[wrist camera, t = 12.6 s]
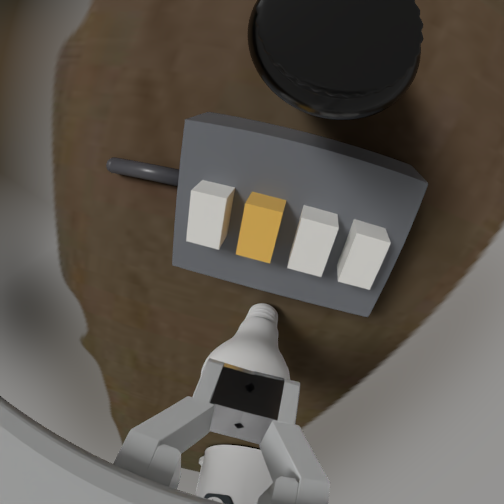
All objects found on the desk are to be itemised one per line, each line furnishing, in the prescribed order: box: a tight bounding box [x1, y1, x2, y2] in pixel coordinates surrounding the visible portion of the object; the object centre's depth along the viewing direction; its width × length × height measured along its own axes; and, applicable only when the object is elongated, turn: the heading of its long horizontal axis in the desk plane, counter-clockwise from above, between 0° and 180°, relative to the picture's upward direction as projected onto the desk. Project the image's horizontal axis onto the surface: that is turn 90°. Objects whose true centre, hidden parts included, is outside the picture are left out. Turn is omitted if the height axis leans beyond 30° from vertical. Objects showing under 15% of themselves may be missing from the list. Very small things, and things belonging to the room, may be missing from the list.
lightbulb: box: [201, 303, 290, 380], centre depth 23 cm, size 6×6×11 cm
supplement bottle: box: [248, 0, 423, 120], centre depth 12 cm, size 7×7×12 cm
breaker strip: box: [106, 112, 428, 317], centre depth 20 cm, size 22×10×6 cm, turn 79°
